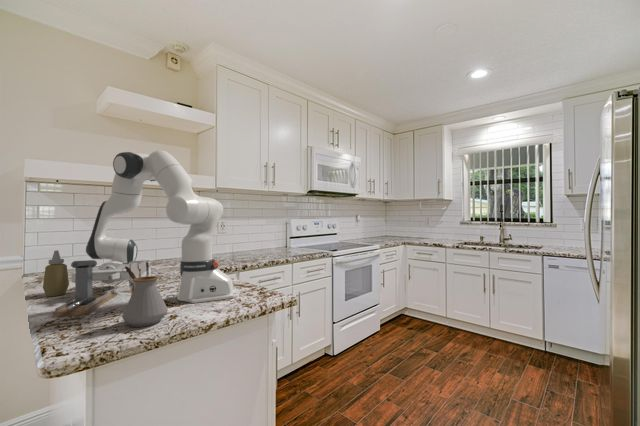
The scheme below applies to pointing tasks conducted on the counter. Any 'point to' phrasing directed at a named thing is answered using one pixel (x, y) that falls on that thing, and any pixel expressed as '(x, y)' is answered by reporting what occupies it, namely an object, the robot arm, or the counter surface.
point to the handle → (83, 283)
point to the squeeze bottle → (56, 276)
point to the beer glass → (139, 271)
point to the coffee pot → (144, 302)
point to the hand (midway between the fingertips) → (95, 278)
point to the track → (84, 305)
